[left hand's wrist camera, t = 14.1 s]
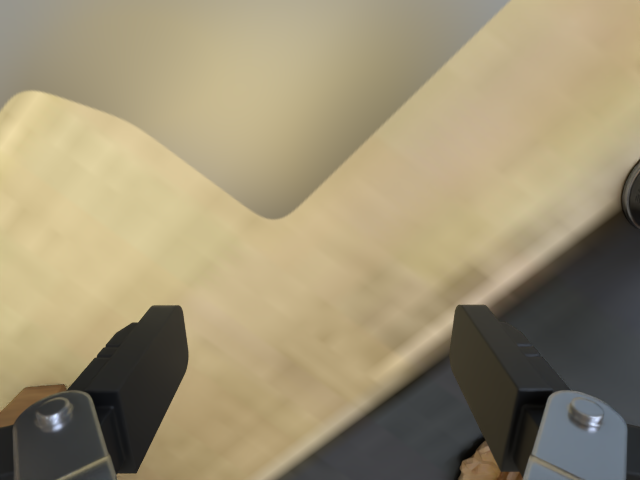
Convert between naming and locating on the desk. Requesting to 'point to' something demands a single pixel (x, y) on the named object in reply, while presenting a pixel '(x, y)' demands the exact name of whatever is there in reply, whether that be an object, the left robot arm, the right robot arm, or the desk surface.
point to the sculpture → (484, 467)
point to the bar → (26, 402)
